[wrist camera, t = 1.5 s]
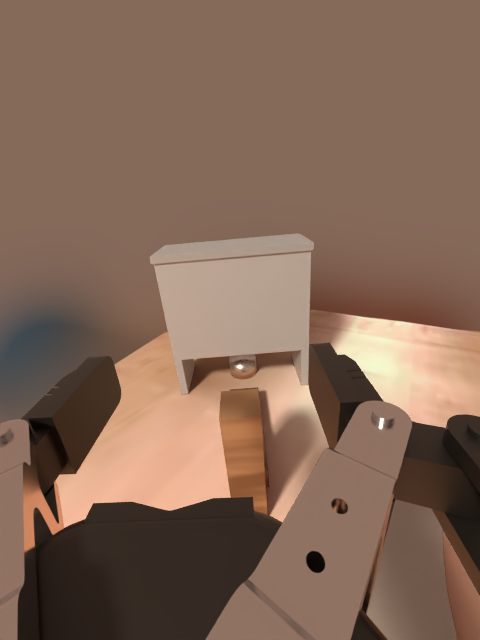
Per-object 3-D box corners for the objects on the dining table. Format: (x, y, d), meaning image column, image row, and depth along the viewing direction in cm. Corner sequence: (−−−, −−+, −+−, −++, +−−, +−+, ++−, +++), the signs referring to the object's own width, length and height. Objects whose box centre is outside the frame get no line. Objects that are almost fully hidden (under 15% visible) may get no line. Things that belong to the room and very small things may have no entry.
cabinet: (310, 385, 48) (313, 242, 38) (179, 395, 48) (149, 257, 39) (298, 356, 57) (299, 233, 47) (187, 364, 57) (165, 245, 47)
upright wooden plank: (272, 518, 29) (266, 415, 23) (229, 521, 29) (213, 419, 23) (258, 399, 46) (253, 322, 40) (231, 401, 46) (222, 324, 40)
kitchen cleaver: (375, 419, 39) (465, 445, 34) (374, 425, 40) (464, 451, 34) (312, 626, 22) (481, 753, 16) (313, 633, 22) (478, 759, 16)
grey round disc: (244, 361, 57) (243, 348, 56) (262, 371, 53) (261, 357, 52) (225, 372, 54) (223, 359, 53) (242, 383, 50) (241, 369, 49)
